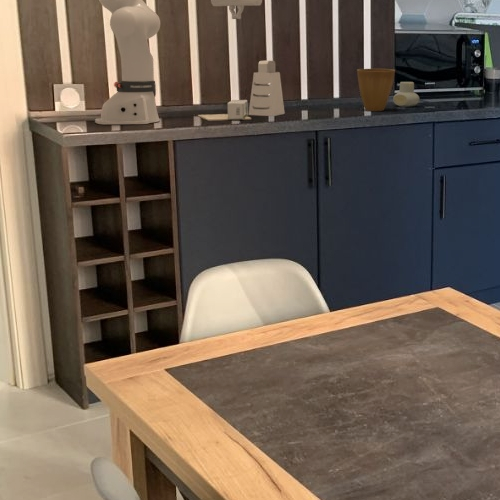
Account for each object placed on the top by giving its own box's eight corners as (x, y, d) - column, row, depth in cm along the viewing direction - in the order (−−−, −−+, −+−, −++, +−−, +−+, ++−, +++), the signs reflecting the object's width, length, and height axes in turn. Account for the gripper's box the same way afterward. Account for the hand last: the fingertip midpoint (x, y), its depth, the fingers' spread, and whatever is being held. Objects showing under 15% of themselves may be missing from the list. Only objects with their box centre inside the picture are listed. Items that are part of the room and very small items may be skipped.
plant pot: (349, 109, 338) (350, 68, 334) (382, 108, 343) (384, 68, 339) (365, 112, 325) (367, 70, 320) (399, 111, 329) (401, 70, 325)
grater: (248, 114, 317) (248, 61, 312) (260, 112, 326) (260, 60, 321) (273, 116, 312) (273, 61, 307) (284, 113, 321) (285, 60, 316)
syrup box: (242, 102, 295) (248, 99, 309) (226, 102, 296) (232, 99, 310) (243, 119, 297) (248, 115, 310) (226, 119, 297) (233, 115, 311)
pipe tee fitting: (422, 106, 349) (423, 82, 346) (410, 107, 344) (411, 83, 341) (401, 104, 357) (402, 81, 354) (389, 106, 351) (390, 82, 349)
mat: (208, 120, 297) (208, 119, 297) (198, 116, 312) (198, 114, 312) (251, 119, 301) (251, 117, 301) (239, 114, 316) (239, 113, 316)
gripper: (265, -22, 296) (265, 18, 300) (218, -20, 307) (218, 19, 311) (255, -23, 291) (256, 18, 295) (208, -21, 302) (208, 19, 305)
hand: (236, 19), depth 303 cm, fingers closed
